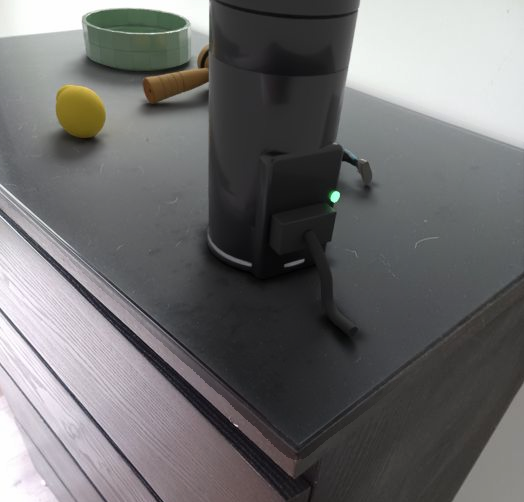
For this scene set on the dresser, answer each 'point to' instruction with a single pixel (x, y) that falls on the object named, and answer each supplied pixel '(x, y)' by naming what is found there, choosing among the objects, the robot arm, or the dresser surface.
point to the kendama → (177, 80)
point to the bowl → (137, 38)
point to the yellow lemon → (80, 111)
